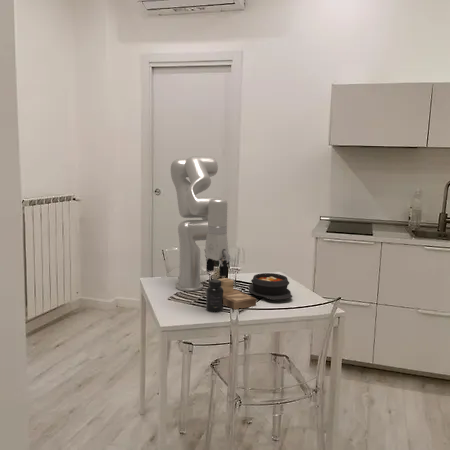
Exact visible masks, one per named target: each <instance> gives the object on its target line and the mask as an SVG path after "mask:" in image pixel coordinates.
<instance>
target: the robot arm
mask: <svg viewBox="0 0 450 450" xmlns="http://www.w3.org/2000/svg"><path fill="white" fill-rule="evenodd" d="M170 164H171V165H170V178H171V180H172V182H173V185H174V187H175V190H176V199H177V206H178V207H177V208H178V212H179V213H178V214H179V215H180V217H181V218H183V219H186V220H183V221H181V222H180V223H179V224H178V226H177V233H178V240H179V275H178V277H177V279H178V281H179V282H178V283H176V284H175V288H176V289H177V290H180V291H184V292H185V291H186V292H195V291H200V290H202V289H203V288H204V285H203V283H201V249H200V247H199V245H198V244H197V243H196V242H198V241H200V242H201V241H205V248H204V256H205V261H206V272H213V271H214V269H215V261H216V262H218V261H219V264H220V265H219V277H225V276H228V266H229V264H230V261H231V260H230V259H231V255H230V254H229V250H228V247H229V246H228V236H227V235H228V201H227V200H226V199H224V198H221V197H218V196H201V197H200V196H196V195H198V194H200V193H203V192H204V191H206V190H208V189H209V188H210V186H211V183H212V179H211V177H214V176H216V174H217V173H218V169H219V165H218V162H217V160H216V159H215V158H214V157H212V156H191V157H188V158H179V159H175V160H173V161H172V162H171V163H170ZM187 178H188V179H189V180H188V179H187ZM187 219H188V220H187Z"/></svg>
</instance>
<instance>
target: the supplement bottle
mask: <svg viewBox="0 0 450 450" xmlns="http://www.w3.org/2000/svg"><path fill="white" fill-rule="evenodd" d="M205 293H206V294H205V295H206V300H205V302H206V304H205V310H207V312H209V313H221V312H222V311H223V310H224V304H223V288H222V287H221V281H220V280H218V279H214V278H213V279H209V280H208V287H207V288H206V292H205Z"/></svg>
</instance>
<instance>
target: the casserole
mask: <svg viewBox="0 0 450 450" xmlns="http://www.w3.org/2000/svg"><path fill="white" fill-rule="evenodd" d="M250 283H251V284H249V285H248V288H249V290H248V291H249V293H251V294H252V295H254V296H257V297H260V298H264V299H268V300H271V301H272V300H273V301H274V300H275V301H279V300H280V301H281V300H283V301H284V300H288V299H291V298H293V295H292V293H291V290H290V289H289V288H288V287H289V284H290V281H289V280H288V277H287V276H285V275H283V274H280V273H273V272H263V273H257V274H254V275H253V277H252V279H251V281H250Z"/></svg>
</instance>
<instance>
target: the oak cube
mask: <svg viewBox="0 0 450 450" xmlns="http://www.w3.org/2000/svg"><path fill="white" fill-rule="evenodd" d="M217 280H220V281H221V287H222V288H223V293H229V292H233V289H234V282H235V281H234V280H233V279H231V278H228V277H226V278H225V277H224V278H218V279H217Z"/></svg>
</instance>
